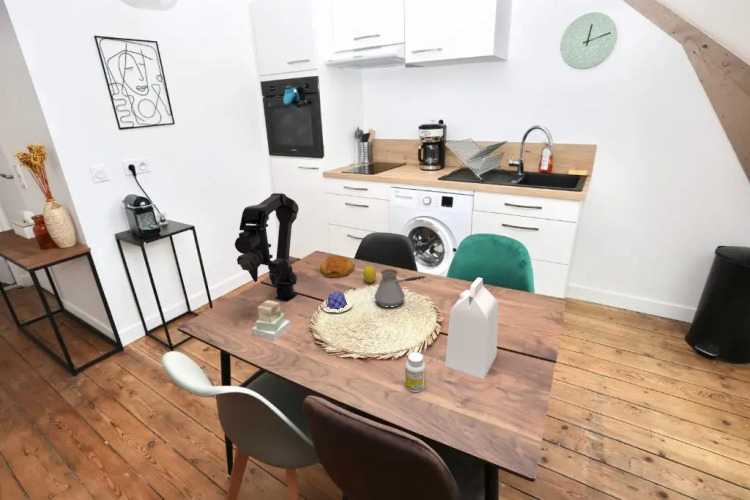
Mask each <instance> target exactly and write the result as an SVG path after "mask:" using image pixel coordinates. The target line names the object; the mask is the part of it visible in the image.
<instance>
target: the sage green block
mask: <svg viewBox="0 0 750 500" xmlns="http://www.w3.org/2000/svg"><path fill="white" fill-rule="evenodd" d="M285 315H286V314H285V313H284V312H281V316H280V317H279V318H277V319H276V320H275V321H274V322H272V323H269V322H265V321H262V320H260V319H259V318H258V319H257V320H256V321H255V326H256V327H257V330H264V331H272V332H276V331H277V330H278V329H279V328H280V327H281V325H282V324H283V323H284V322H285V320H286V316H285Z"/></svg>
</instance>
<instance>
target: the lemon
mask: <svg viewBox="0 0 750 500" xmlns="http://www.w3.org/2000/svg"><path fill="white" fill-rule="evenodd" d="M362 274H363V276H362V277H363V279H364V280H365V281H366V282H367V283H372V282H373V281H375V280H376V278H377V272H376V268H375V267H374V266H372V265H367V266H365V268H364V269H363V273H362Z"/></svg>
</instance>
